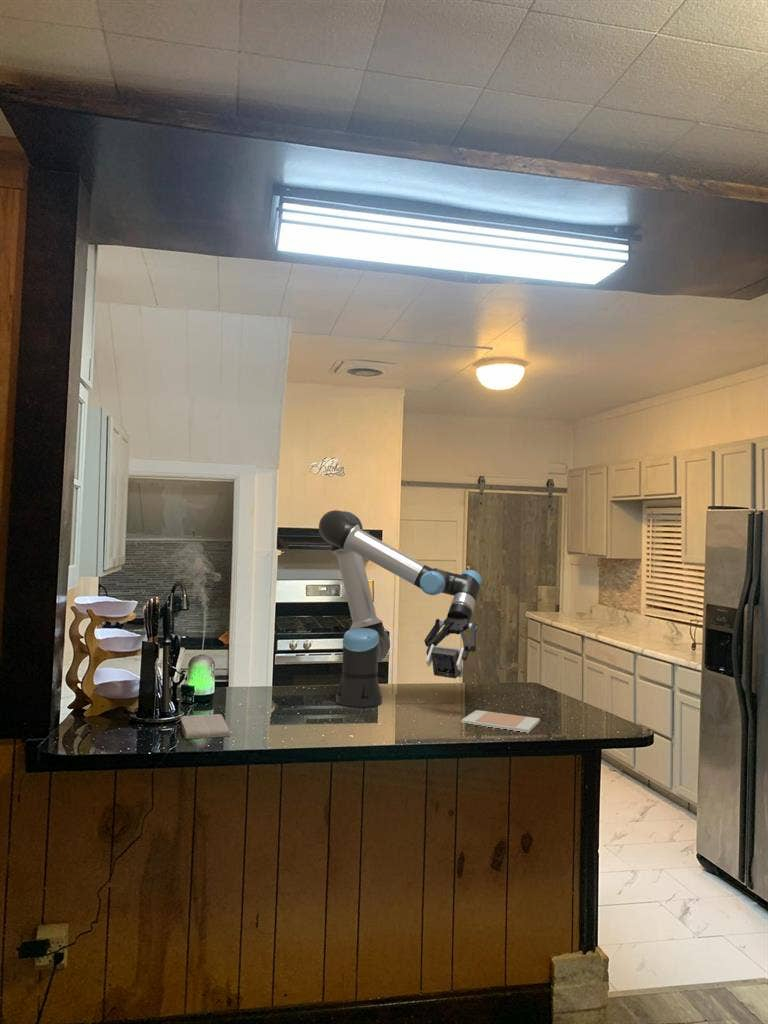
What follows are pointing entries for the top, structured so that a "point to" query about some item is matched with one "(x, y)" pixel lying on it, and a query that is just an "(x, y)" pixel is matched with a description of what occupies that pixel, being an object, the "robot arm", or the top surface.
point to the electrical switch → (446, 662)
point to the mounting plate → (501, 721)
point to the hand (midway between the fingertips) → (443, 665)
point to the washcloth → (204, 726)
